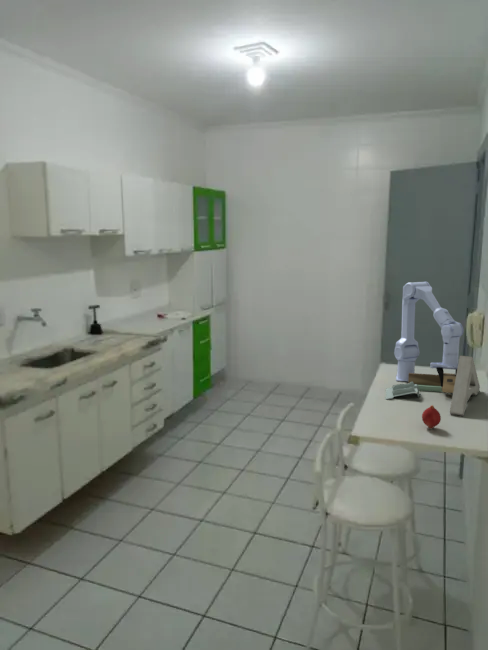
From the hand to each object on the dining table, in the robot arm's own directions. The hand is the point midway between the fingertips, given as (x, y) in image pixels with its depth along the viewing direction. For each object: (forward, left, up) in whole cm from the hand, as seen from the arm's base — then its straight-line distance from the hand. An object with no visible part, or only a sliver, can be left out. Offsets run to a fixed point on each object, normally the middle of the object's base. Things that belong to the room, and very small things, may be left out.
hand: (448, 386), depth 203 cm
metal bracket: (+5, -18, -4) cm, 19 cm away
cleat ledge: (-7, -6, -4) cm, 10 cm away
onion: (+41, -9, -4) cm, 42 cm away
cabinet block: (0, 0, -2) cm, 2 cm away
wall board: (-11, -6, -4) cm, 13 cm away
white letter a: (+8, +6, -4) cm, 10 cm away
